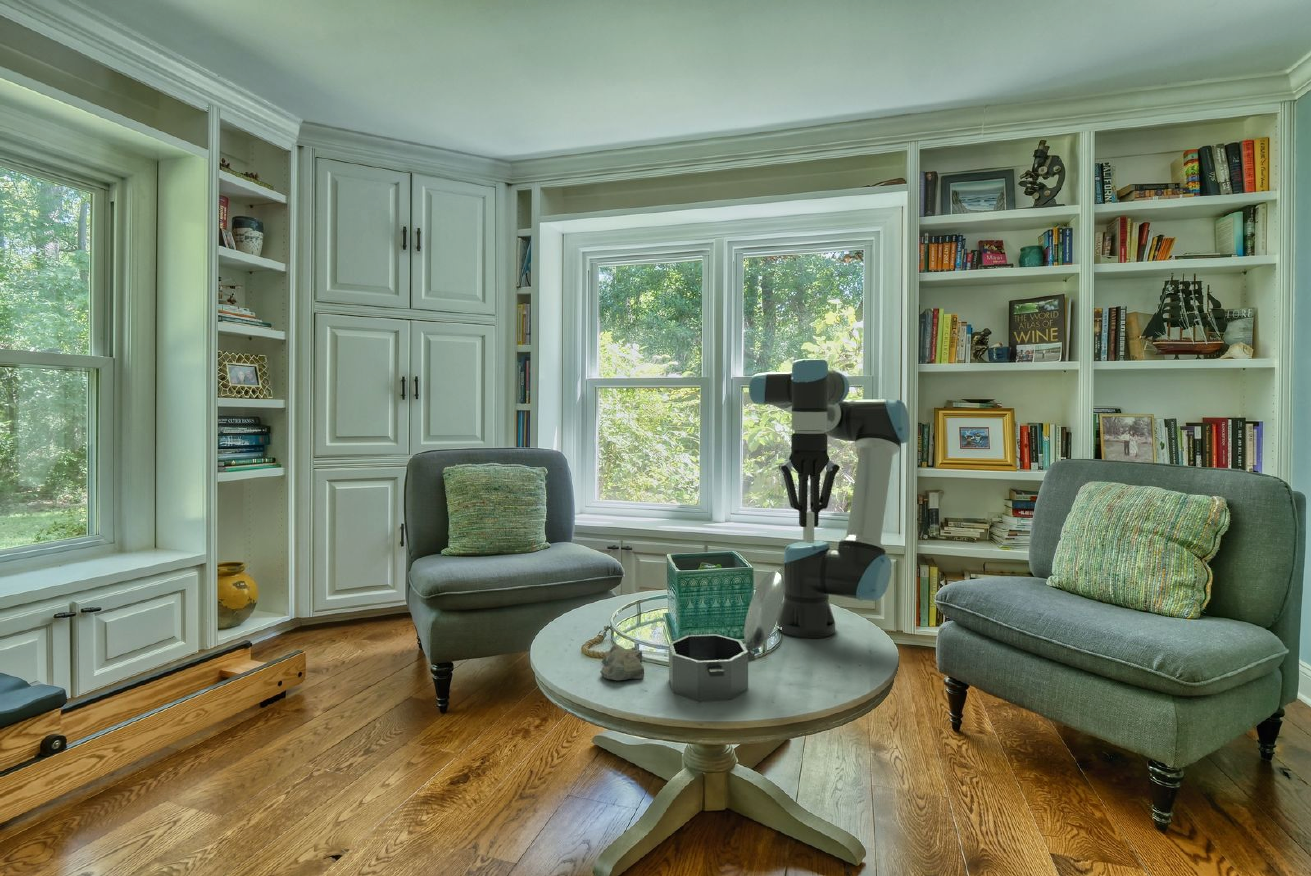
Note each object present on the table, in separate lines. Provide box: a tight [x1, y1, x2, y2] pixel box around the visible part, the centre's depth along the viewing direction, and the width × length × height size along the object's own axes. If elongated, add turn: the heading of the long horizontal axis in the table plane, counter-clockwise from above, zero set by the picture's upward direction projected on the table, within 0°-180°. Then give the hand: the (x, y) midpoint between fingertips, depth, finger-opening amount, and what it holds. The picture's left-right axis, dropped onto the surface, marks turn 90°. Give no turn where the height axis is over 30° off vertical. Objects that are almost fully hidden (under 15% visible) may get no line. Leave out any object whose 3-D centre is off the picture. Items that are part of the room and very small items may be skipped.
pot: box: [668, 633, 756, 702], centre depth 145 cm, size 18×21×8 cm
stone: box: [599, 644, 645, 681], centre depth 153 cm, size 15×10×4 cm, turn 3°
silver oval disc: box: [743, 570, 784, 651], centre depth 145 cm, size 17×17×2 cm
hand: (808, 541), depth 145 cm, fingers closed
